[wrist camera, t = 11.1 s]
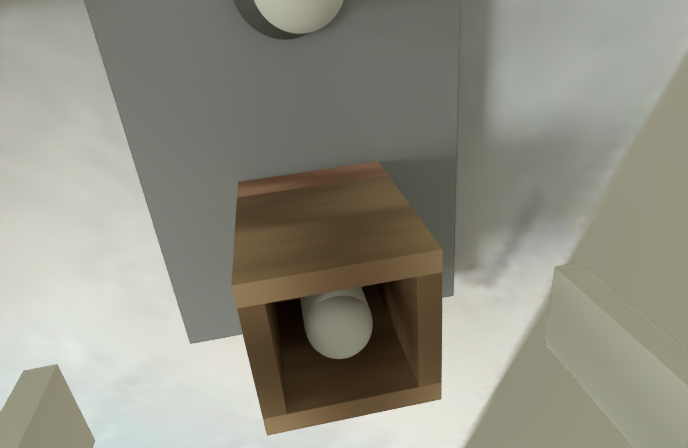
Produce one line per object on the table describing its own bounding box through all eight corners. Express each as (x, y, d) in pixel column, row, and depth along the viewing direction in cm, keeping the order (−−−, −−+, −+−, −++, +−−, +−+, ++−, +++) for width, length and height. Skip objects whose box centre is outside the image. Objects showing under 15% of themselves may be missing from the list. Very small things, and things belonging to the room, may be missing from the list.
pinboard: (193, 322, 22) (164, 496, 14) (48, -170, 14) (-197, -360, 6) (441, 278, 23) (532, 415, 16) (446, -193, 15) (639, -372, 8)
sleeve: (262, 298, 20) (267, 435, 14) (238, 182, 18) (231, 285, 12) (384, 277, 21) (441, 399, 15) (378, 161, 18) (442, 249, 12)
